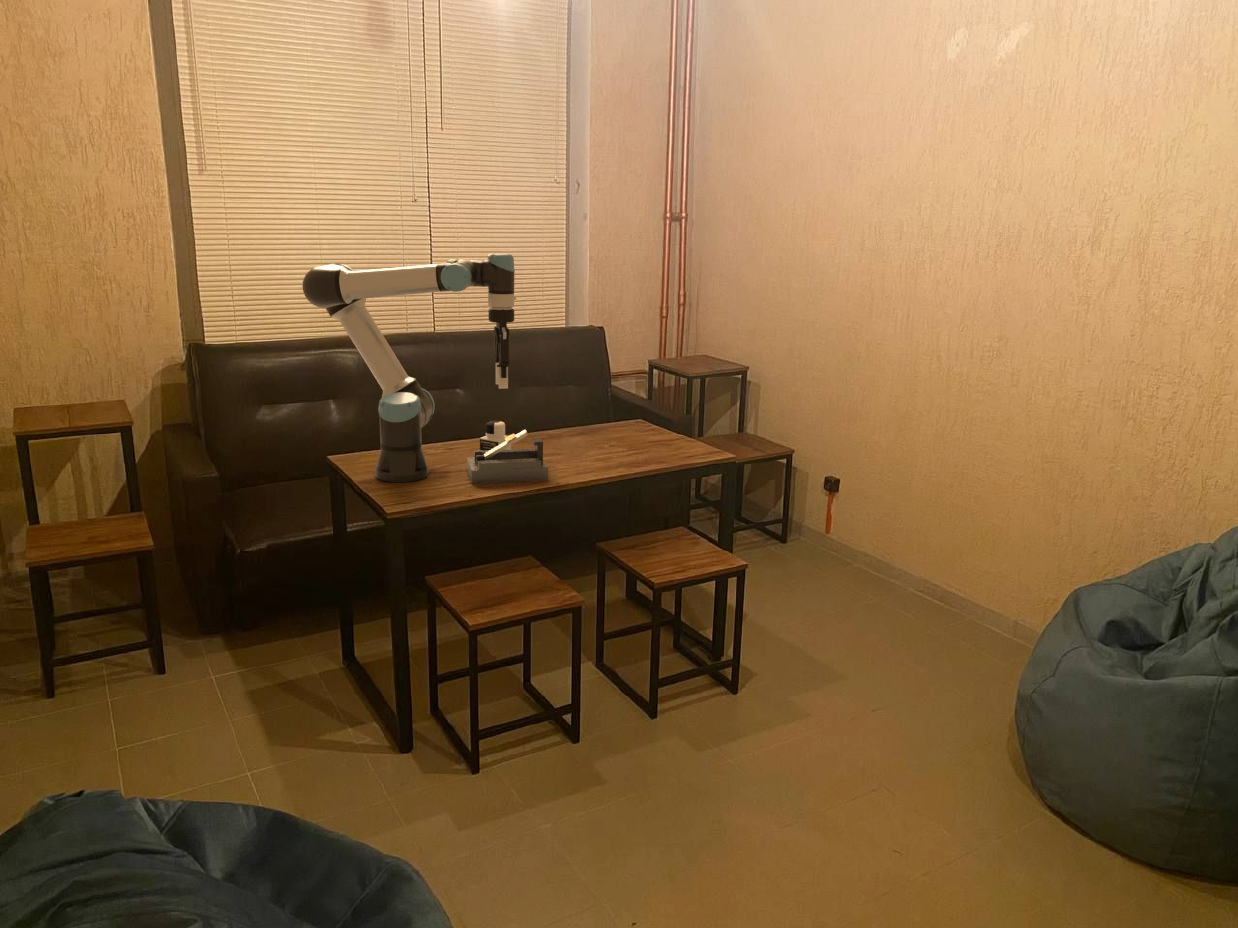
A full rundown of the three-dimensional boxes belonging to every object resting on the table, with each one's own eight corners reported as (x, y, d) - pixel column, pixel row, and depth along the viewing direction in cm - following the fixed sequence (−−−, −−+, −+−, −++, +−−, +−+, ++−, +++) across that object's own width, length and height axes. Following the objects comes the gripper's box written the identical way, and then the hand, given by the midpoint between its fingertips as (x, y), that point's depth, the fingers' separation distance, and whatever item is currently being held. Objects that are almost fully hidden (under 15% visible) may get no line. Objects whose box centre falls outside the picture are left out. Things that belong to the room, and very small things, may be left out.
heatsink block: (472, 484, 256) (471, 448, 253) (467, 470, 269) (466, 436, 266) (547, 480, 262) (548, 445, 259) (539, 466, 275) (539, 433, 272)
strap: (479, 465, 260) (476, 460, 260) (477, 461, 264) (474, 456, 263) (529, 435, 262) (525, 430, 261) (526, 432, 265) (523, 427, 265)
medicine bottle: (479, 459, 280) (479, 422, 277) (492, 454, 286) (492, 418, 283) (498, 463, 277) (498, 425, 274) (511, 458, 283) (511, 421, 280)
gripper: (519, 311, 254) (519, 392, 260) (509, 304, 271) (509, 380, 277) (492, 311, 252) (493, 392, 258) (484, 304, 269) (485, 380, 275)
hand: (501, 386), depth 268 cm, fingers open, 6 cm apart
